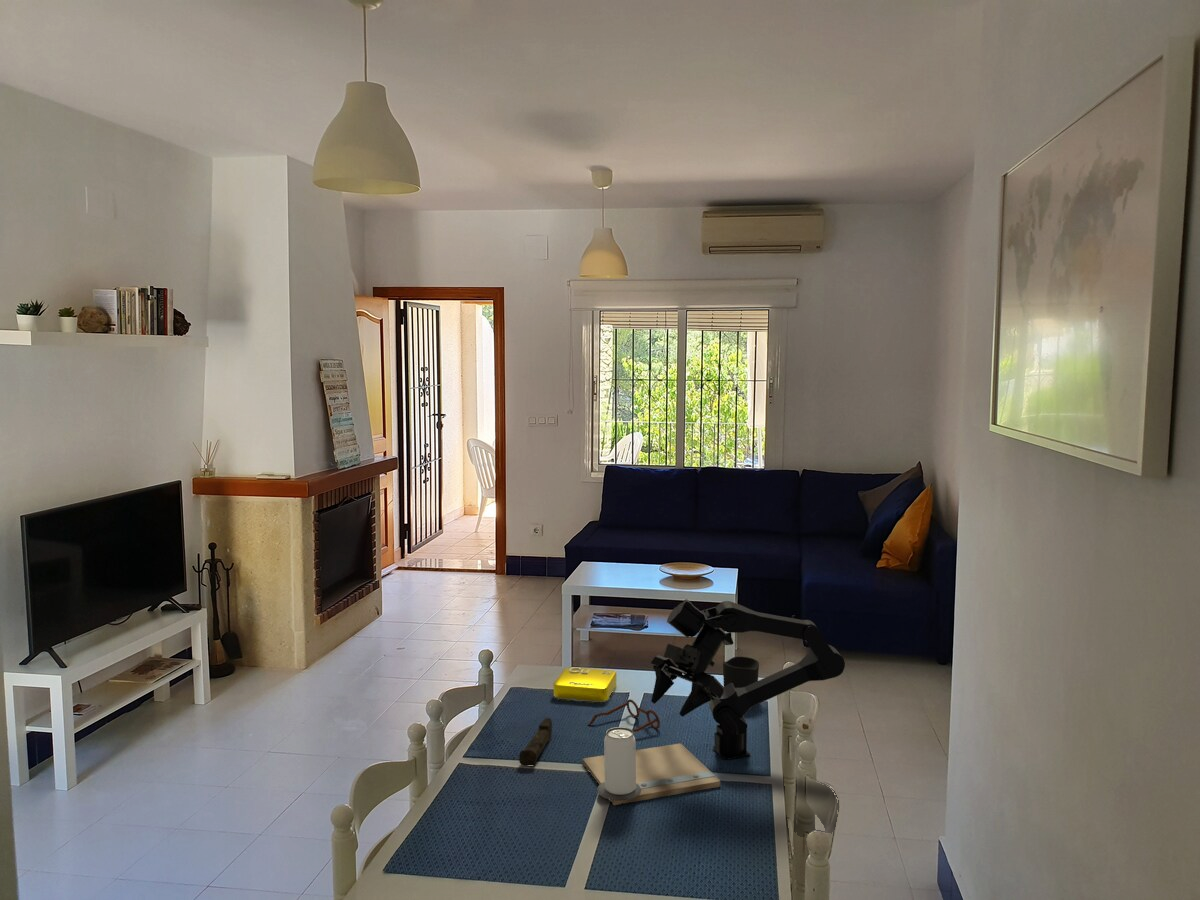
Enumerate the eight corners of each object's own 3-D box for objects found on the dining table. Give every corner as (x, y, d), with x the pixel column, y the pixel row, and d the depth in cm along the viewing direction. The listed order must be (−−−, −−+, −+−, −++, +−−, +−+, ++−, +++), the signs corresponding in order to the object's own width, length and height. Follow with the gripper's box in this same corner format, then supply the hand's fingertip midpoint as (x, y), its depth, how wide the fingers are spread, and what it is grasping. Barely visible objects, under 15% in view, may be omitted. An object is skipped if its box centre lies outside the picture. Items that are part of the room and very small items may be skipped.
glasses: (661, 732, 215) (661, 712, 215) (617, 745, 208) (617, 725, 208) (629, 715, 226) (629, 696, 226) (586, 726, 219) (586, 707, 218)
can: (618, 799, 178) (617, 741, 177) (598, 787, 183) (597, 731, 182) (642, 789, 182) (641, 733, 181) (622, 778, 187) (621, 723, 186)
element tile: (551, 700, 236) (551, 683, 236) (566, 681, 251) (566, 664, 250) (606, 705, 233) (606, 687, 232) (617, 685, 248) (617, 668, 247)
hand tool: (535, 768, 196) (535, 748, 195) (518, 766, 197) (518, 746, 196) (561, 734, 214) (561, 716, 213) (545, 733, 215) (545, 714, 214)
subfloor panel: (680, 748, 205) (680, 742, 205) (722, 788, 186) (722, 782, 185) (574, 765, 197) (574, 759, 197) (605, 809, 177) (605, 802, 177)
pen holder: (718, 692, 240) (719, 657, 239) (752, 691, 241) (753, 655, 240) (727, 706, 231) (728, 668, 230) (762, 704, 232) (763, 667, 231)
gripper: (656, 620, 203) (619, 677, 197) (714, 640, 188) (676, 702, 182) (681, 647, 208) (646, 703, 203) (740, 668, 194) (703, 729, 188)
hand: (666, 708), depth 194 cm, fingers open, 9 cm apart
